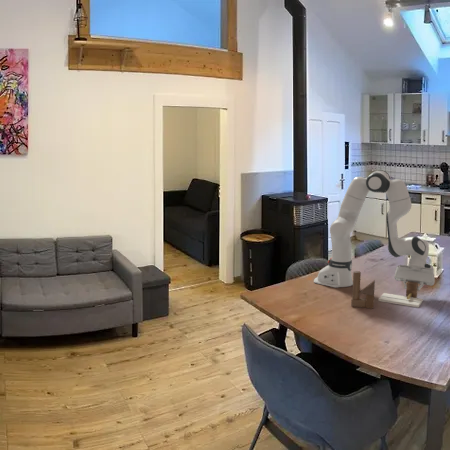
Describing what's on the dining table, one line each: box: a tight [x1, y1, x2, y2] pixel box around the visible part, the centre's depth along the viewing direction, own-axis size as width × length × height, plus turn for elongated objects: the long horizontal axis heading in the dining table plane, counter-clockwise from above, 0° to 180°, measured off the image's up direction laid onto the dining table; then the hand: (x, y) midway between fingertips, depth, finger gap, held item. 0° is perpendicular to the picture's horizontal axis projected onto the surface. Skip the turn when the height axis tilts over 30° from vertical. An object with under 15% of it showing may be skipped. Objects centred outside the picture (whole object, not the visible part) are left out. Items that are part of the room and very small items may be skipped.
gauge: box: [405, 281, 419, 299], centre depth 269 cm, size 5×12×8 cm, turn 149°
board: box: [378, 292, 424, 308], centre depth 268 cm, size 20×11×1 cm, turn 59°
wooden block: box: [350, 270, 376, 310], centre depth 259 cm, size 4×11×18 cm, turn 66°
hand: (411, 289), depth 272 cm, fingers closed on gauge, 5 cm apart
